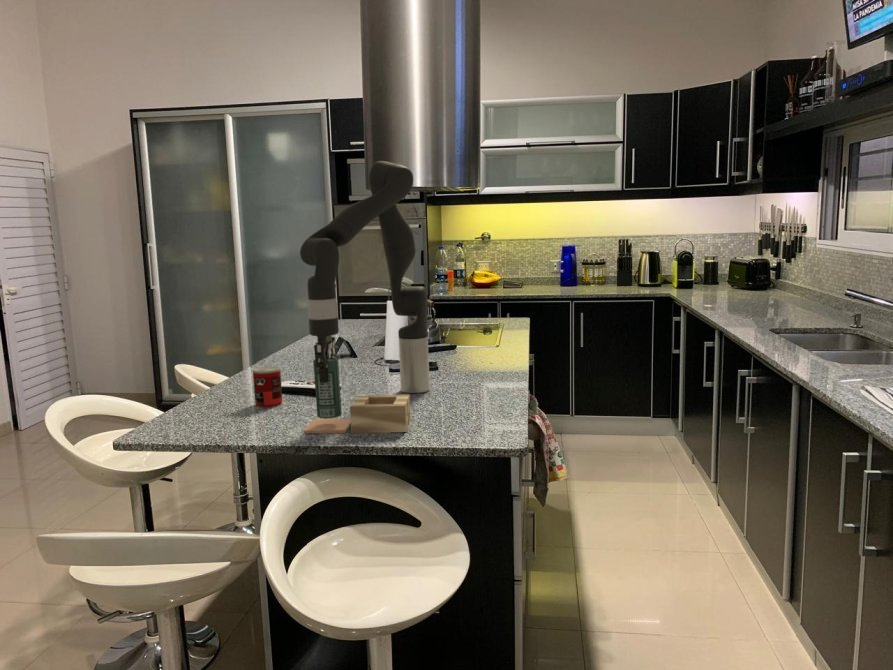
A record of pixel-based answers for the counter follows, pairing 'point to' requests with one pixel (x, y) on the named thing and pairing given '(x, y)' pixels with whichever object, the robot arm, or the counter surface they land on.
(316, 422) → the plate
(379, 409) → the bore block
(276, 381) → the canned food
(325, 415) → the can
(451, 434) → the counter surface
